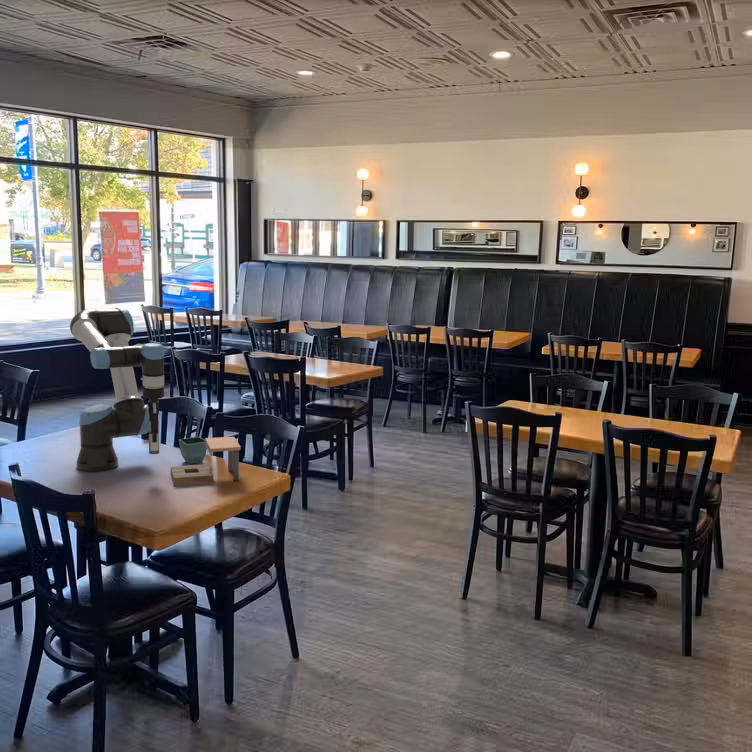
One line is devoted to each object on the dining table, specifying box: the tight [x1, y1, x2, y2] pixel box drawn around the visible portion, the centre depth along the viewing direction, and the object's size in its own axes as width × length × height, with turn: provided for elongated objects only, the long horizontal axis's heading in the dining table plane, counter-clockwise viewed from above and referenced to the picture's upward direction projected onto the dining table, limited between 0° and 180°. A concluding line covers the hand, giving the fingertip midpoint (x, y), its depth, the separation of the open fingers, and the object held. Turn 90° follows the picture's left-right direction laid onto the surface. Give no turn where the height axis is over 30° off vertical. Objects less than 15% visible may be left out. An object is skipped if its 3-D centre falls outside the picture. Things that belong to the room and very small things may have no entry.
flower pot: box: [178, 436, 208, 465], centre depth 303 cm, size 9×9×9 cm
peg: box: [148, 420, 160, 455], centre depth 279 cm, size 4×4×12 cm
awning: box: [204, 436, 242, 482], centre depth 287 cm, size 15×11×13 cm
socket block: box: [170, 463, 214, 487], centre depth 284 cm, size 14×14×3 cm
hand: (154, 448), depth 280 cm, fingers closed on peg, 3 cm apart
